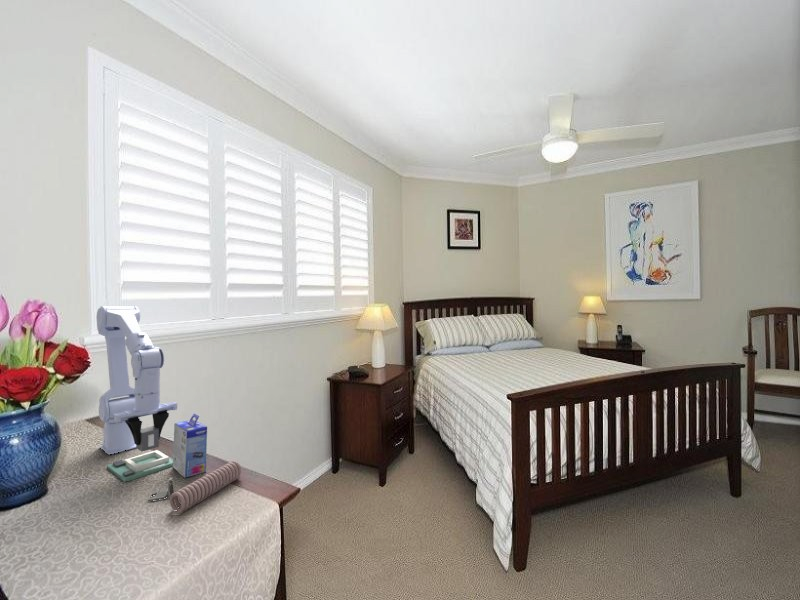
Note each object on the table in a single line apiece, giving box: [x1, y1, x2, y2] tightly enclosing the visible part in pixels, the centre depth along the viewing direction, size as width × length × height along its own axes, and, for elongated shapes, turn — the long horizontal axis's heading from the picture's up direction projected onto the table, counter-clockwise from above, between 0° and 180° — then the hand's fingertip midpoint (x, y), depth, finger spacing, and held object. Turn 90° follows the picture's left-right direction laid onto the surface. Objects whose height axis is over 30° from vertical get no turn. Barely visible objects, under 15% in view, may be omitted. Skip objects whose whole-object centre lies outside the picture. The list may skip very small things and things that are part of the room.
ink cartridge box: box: [172, 413, 208, 478], centre depth 98 cm, size 10×6×14 cm, turn 49°
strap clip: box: [147, 476, 177, 502], centre depth 84 cm, size 8×3×4 cm, turn 111°
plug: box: [135, 425, 160, 453], centre depth 99 cm, size 5×4×5 cm
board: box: [106, 449, 173, 483], centre depth 99 cm, size 13×12×2 cm
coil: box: [169, 460, 242, 515], centre depth 85 cm, size 5×5×18 cm
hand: (147, 441), depth 100 cm, fingers closed on plug, 4 cm apart
